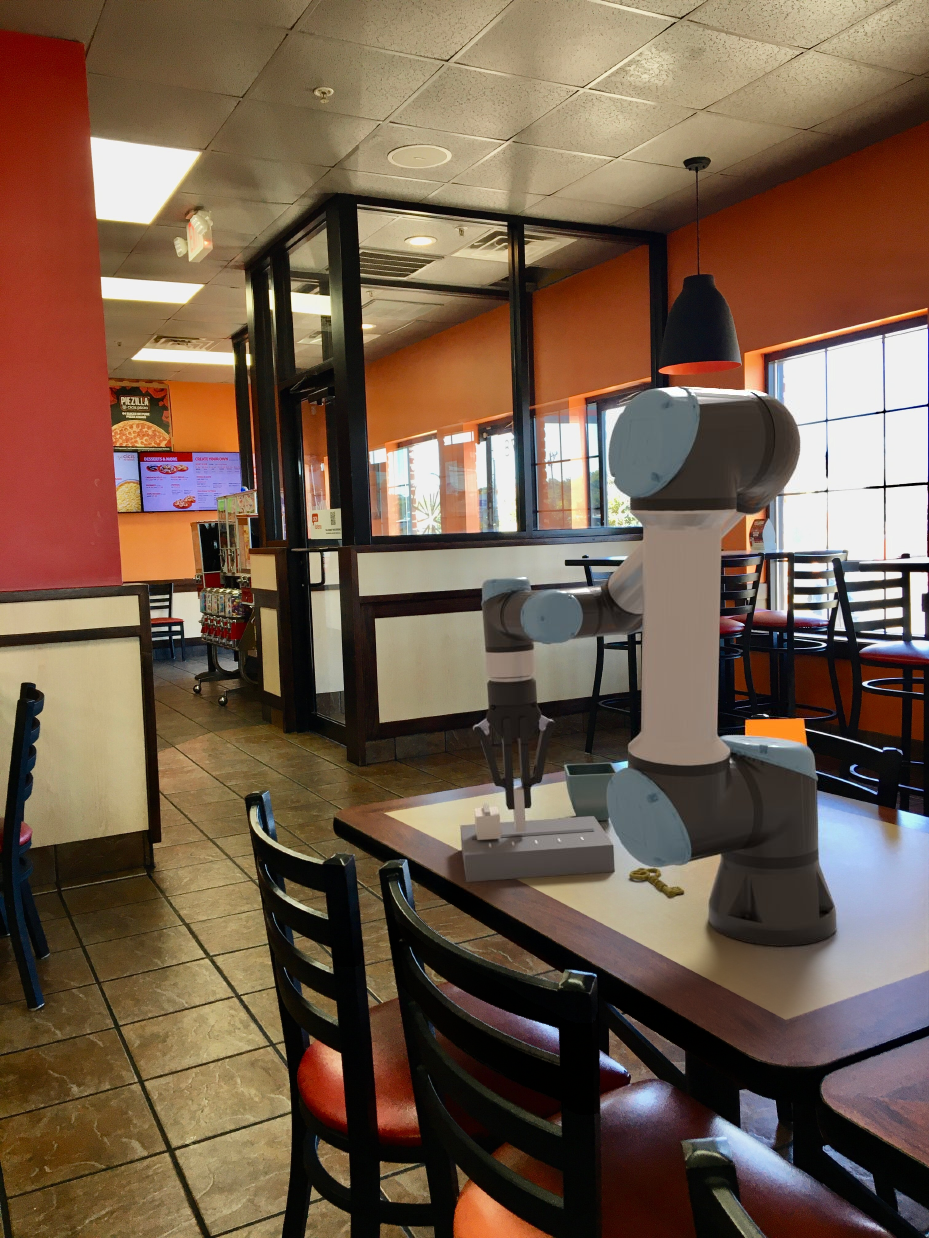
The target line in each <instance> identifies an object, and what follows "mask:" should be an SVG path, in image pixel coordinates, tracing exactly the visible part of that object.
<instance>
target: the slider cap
mask: <svg viewBox="0 0 929 1238" xmlns="http://www.w3.org/2000/svg"><path fill="white" fill-rule="evenodd" d="M473 810H474V824H475V830H476V836H477V840H484V839H499V838H501V831H500V823H501V818H500V817H501V815H500V813H499V809H498V806H489V803H482V807H475V808H473Z"/></svg>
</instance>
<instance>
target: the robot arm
mask: <svg viewBox="0 0 929 1238" xmlns="http://www.w3.org/2000/svg"><path fill="white" fill-rule="evenodd" d="M608 445H609V447H608V469H609V473H610V475H611V477H613V478H614V479H613V484H614V485H615V487H616V488H617V490H619V492H621V493H623V494H624V495H626V496H627V497H628V498H629V502H630V503H629V512H630V514H631V516H633V517H634V518H635V519H636V520H637V521H638V522H639V523H640V524H641V526H642V528H643V531H642V532H643V534H642V535H643V536H642V537H643V539H642V540H641V541H640V542H639V544H638V545H637V546H636V547H635V548H634V549H633V550H632V551H631V553H629V555H628V556H627V557H626V558H625V559H624V560H623V562H622V563H621V564H620V565H619V566H618V567H617V568H616V569H615V570H614V572H613V573H612V574H611V575H610V576H609V577H608V578H607V579H606V580H605V582H603V583H602V584H600V585H591V586H590V585H589V586H581V587H578V586H577V587H568V588H567V587H566V588H553V589H551V588H550V589H540V590H538V589H536V590H532V588H531V582H530V580H529V578H527V577H525V576H516V577H515V576H514V577H498V578H488V579H486V580H485V581H484V582H483V583H482V586H481V588H482V589H481V594H482V596H481V598H482V599H481V603H480V605H481V610H482V621H483V623H482V624H483V636H484V638H483V639H484V647H485V667H486V668H485V669H486V672H485V673H486V677H488V678H489V680H488V682H486V684H487V685H486V687H487V688H486V689H487V703H488V705H487V706H488V709H487V711H486V713H485V718H484V719H483V720H481V721H480V722H479V723H475V724H474V725H472V730H473V733H474V734H475V735H476V737H477V738H478V739H479V741H480V744H481V746H482V749H483V752H484V756H485V759H486V762H487V765H488V770H489V772H490V776H491V779H492V781H493V784H494V786H496V787H500V788H503V789H504V793H505V806H506V808H507V810H508V811H511V810H513V822H514V828H515V830H516V832H524V831H526V822H525V821H526V809H531V807H532V791H531V789H532V787H533V786H534V785H537V784H541V783H542V782H543V778H544V771H545V766H546V765H545V764H546V759H547V755H548V754H547V753H548V749H549V743H550V737H551V736H552V734H553V732H554V730H555V728H556V726H557V724H556V722H555V721H554V720H553V719H552V718H547V717H546V716H544V715H542V711H541V710H540V708H539V705H538V697H537V696H538V695H537V694H538V693H537V690H538V689H537V680H536V679H535V677H533V676H534V675H535V674H536V673H537V672H536V660H535V659H536V658H535V657H536V656H535V643H542V644H543V645H551V644H562V643H567V642H569V641H571V640H578V639H579V640H580V639H588V638H595V637H598V638H599V637H606V636H618V635H622V636H623V635H627V636H628V635H632V634H634V633H639V632H641V634H642V635H641V638H642V639H641V640H642V641H641V646H642V648H641V714H640V715H641V718H640V720H641V722H640V723H641V724H640V726H641V727H640V728H641V729H640V732H639V734H638V735H636V736H635V737H634V738H633V739H632V740H631V741H630V742H629V743H628V744H627V767H623V768H621V769H619V770H618V771H617V772H616V773H615V774H614V775H613V776H612V779H611V780H610V781H609V783H608V787H607V808H608V813H609V817H610V818H609V820H610V823H611V826H612V827H613V830H614V833H615V834H616V836H617V837H618V839H619V841H620V843H621V844H622V846H623V848H624V849H625V850H626V851H627V852H628V853H629V855H631V857H633V858H634V859H635V860H636V861H637V862H639V863H641V864H642V865H644V866H647V867H650V868H663V867H664V868H665V867H669V866H670V867H671V866H678V867H679V866H683V865H687V864H688V863H689V862H695V861H698V860H702V859H706V858H711V857H714V856H715V857H716V856H718V855H720V859H719V861H720V862H719V863H718V864H719V865H718V869H717V871H716V875H715V877H714V878H715V879H714V881H713V885H712V889H711V892H710V896H709V899H708V908H707V909H708V921H709V923H710V925H711V926H712V928H713V929H714V930H716V931H717V932H719V933H721V934H723V935H725V936H727V937H730V938H732V939H735V940H739V941H743V942H746V943H751V944H758V945H767V946H799V945H807V944H812V943H817V942H819V941H824V939H828V938H829V937H831V936H832V935H833V934H834V933H835V932H836V930H837V909H836V904H835V903H834V900H833V898H832V897H833V896H832V894H831V891H830V889H829V886H828V884H827V881H826V878H825V876H824V874H823V870H822V867H821V865H820V857H819V854H820V853H819V816H818V808H819V807H818V781H819V777H818V774H817V772H816V761H815V755H814V753H813V751H812V748H810V747H809V746H808V745H807V746H806V745H804V744H802V743H799V742H795V741H791V740H785V739H778V738H770V737H760V736H745V735H743V734H742V735H741V734H740V735H739V734H733V735H732V734H731V735H730V734H729V735H728V734H727V735H722V736H719V734H718V708H719V707H718V706H719V705H718V703H719V701H718V700H719V663H720V661H719V659H720V623H721V622H720V621H721V619H720V618H721V617H720V616H721V613H720V612H721V581H722V580H721V576H722V575H721V572H722V569H721V568H722V539H723V538H724V537H725V536H726V535H727V534H728V533H729V532H730V531H731V530H732V529H733V528H734V527H735V526H736V525H737V524H739V522H740V521H742V519H744V517H745V516H754V515H756V514H757V515H758V514H759V513H761V512H762V511H763V510H764V509H766V508H767V507H768V506H769V505H770V504H771V503H772V502H773V501H774V500H775V499H776V498H777V497H778V495H780V493H781V492H782V491H783V490H784V489H785V487H786V486H787V485H788V483H789V482H790V480H791V478H792V477H793V474H794V473H795V471H796V470H797V469H796V468H797V466H798V462H799V458H800V454H801V436H800V431H799V427H798V425H797V422H796V420H795V418H794V415H793V414H792V413H791V412H790V410H789V409H788V408H787V407H786V405H784V404H783V403H782V402H781V401H780V400H779V399H777V398H776V397H774V396H772V395H769V394H768V393H765V392H762V391H758V390H753V389H737V390H736V389H725V388H724V389H723V388H720V389H719V388H705V387H689V386H674V387H662V388H652V389H647V390H644V391H642V392H641V393H638V394H637V395H636V396H634V397H633V398H631V400H630V401H629V402H627V404H626V405H625V407H624V409H623V411H622V412H621V413H620V414H619V415H618V417H617V419H616V421H615V424H614V426H613V429H612V432H611V435H610V440H609V444H608ZM538 722H539V723H538ZM537 724H538V728H539V731H540V732H539V736H538V741H537V748H536V753H535V758H534V765H533V768H532V769H533V770H532V774H531V769H530V768H531V767H530V751H529V750H530V749H529V742H530V741H529V736H530V735H531V734H532V732H533V730H534V729H535V727H536V726H537ZM490 726H491V729H493V730H494V731H495V733H496V734H497V735H498V736H499V737H500V738H501V743H502V744H501V746H502V749H501V750H502V761H503V762H502V763H503V765H502V767H503V777H502V776H501V774H500V770H499V768H498V765H497V762H496V761H497V760H496V758H495V755H494V752H493V749H492V745H491V741H490V739H489V737H488V735H489V734H490V729H489V727H490ZM515 738H516V739H517V741H518V754H519V767H520V768H519V771H520V772H519V773H520V783H521V785H515V784H514V782H515V780H514V762H513V747H512V745H513V740H512V739H515Z"/></svg>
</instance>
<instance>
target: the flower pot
mask: <svg viewBox="0 0 929 1238" xmlns="http://www.w3.org/2000/svg"><path fill="white" fill-rule="evenodd" d="M563 769H564V775H565V782H566V789H567V794H568V798H569V801H570V802H571V806H572V809H573V812H574V815H576V817H587V816H594V817H595V818H596V820H597V821H598V822H599V821H600V822H601V821H602V822H603V821H604V822H605V821H608V820H610V817H609V813H608V808H607V787H608V783H609V781H610V780H611V779H612V776H613V775H614V774H615V773H616V772H618V771H617V769H616V766H615V765H614V763H612V762H596V763H573V764H571V763H570V764H564V765H563Z"/></svg>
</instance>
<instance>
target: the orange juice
mask: <svg viewBox="0 0 929 1238" xmlns="http://www.w3.org/2000/svg"><path fill="white" fill-rule="evenodd" d="M805 727H806V726H805V719H804V718H779V719H777V718H776V719H770V718H769V719H745V731H744V732H745V736H760V737H770V738H778V739H785V740H791V741H795V742H799V743H802V744H804V745H806V746H808V744H807V743H808V742H807V735H806V728H805Z"/></svg>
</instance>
